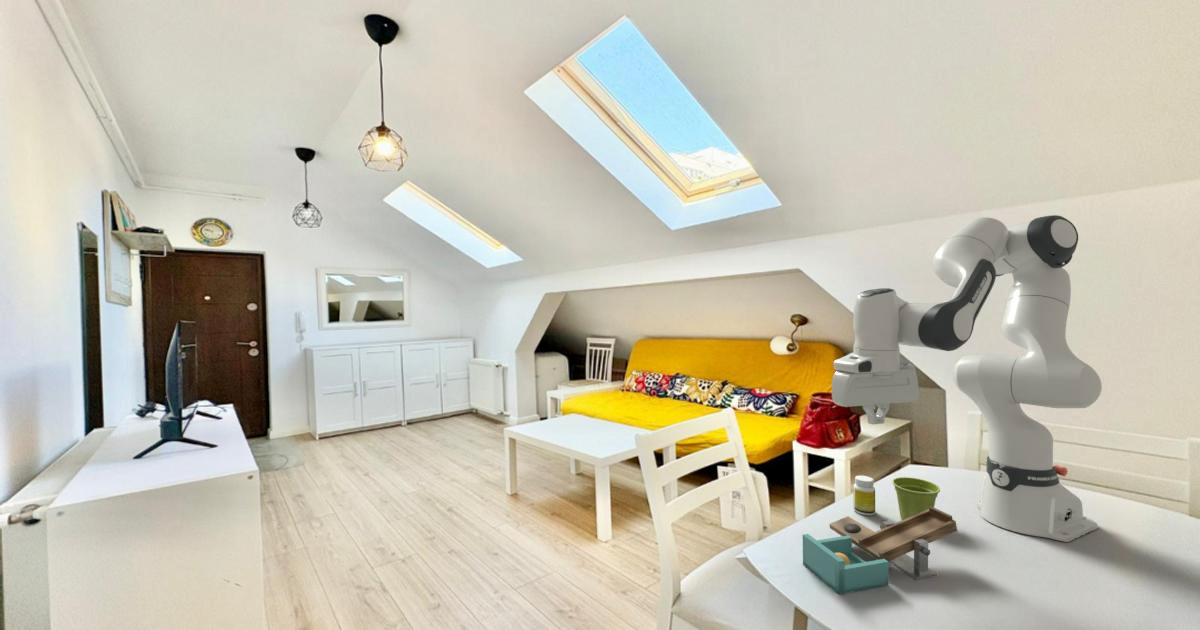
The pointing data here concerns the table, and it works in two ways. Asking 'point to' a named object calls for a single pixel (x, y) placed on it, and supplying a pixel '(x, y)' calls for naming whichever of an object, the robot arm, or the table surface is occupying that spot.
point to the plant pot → (914, 495)
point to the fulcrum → (911, 566)
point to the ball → (844, 558)
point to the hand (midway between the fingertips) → (876, 423)
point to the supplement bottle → (864, 495)
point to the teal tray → (842, 565)
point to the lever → (897, 533)
